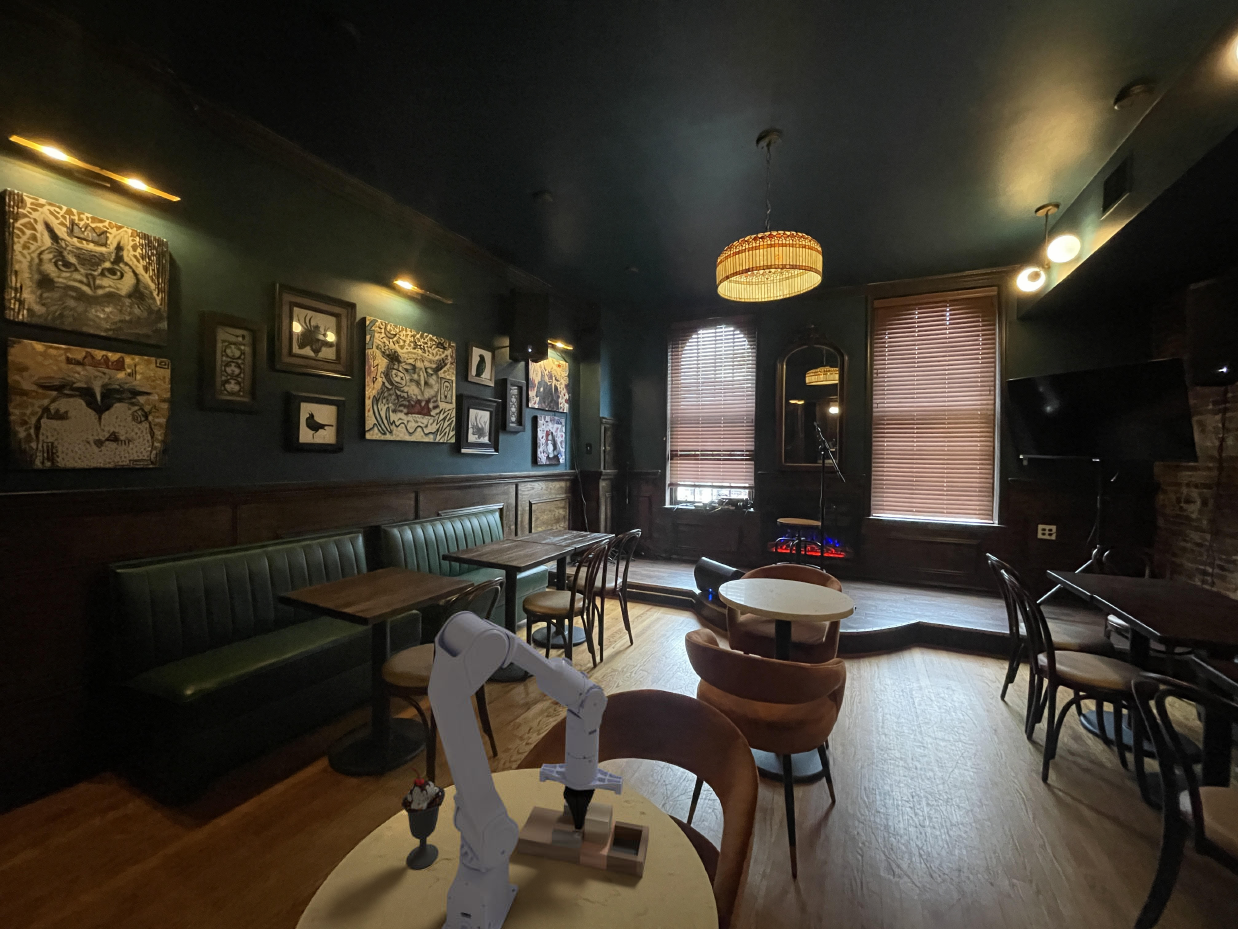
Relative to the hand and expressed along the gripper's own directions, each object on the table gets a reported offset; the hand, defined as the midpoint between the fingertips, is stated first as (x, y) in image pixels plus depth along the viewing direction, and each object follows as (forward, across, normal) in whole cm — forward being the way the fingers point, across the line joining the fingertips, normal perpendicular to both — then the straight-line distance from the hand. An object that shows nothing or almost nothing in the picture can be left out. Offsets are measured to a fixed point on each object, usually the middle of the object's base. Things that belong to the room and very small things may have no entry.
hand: (579, 825), depth 85 cm
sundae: (+4, +25, +8) cm, 26 cm away
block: (+1, -3, 0) cm, 4 cm away
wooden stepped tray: (+3, -1, 0) cm, 4 cm away
